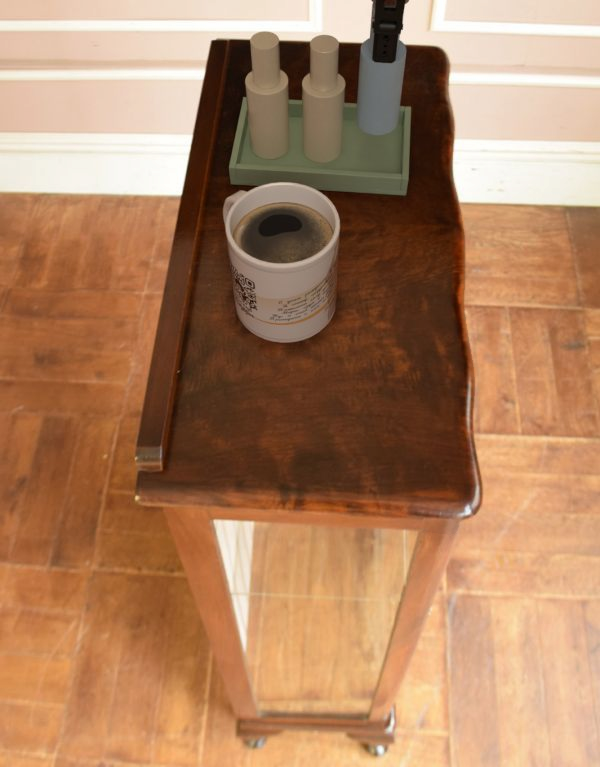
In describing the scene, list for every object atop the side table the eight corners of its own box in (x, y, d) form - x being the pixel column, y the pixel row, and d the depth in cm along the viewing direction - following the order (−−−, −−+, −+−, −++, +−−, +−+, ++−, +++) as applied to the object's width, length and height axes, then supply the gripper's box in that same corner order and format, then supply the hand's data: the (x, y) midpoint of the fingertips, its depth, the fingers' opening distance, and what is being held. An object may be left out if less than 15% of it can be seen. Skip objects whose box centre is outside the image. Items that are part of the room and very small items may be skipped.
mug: (227, 345, 73) (215, 268, 63) (228, 248, 79) (217, 165, 69) (339, 341, 73) (344, 264, 63) (331, 245, 79) (334, 161, 70)
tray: (408, 123, 88) (411, 106, 86) (406, 195, 83) (408, 179, 80) (244, 114, 90) (243, 96, 88) (230, 184, 84) (228, 167, 82)
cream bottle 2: (343, 136, 87) (348, 30, 75) (340, 164, 84) (345, 58, 73) (304, 134, 87) (303, 28, 76) (300, 161, 85) (299, 56, 73)
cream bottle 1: (291, 133, 87) (289, 27, 76) (287, 160, 85) (284, 55, 74) (252, 131, 87) (245, 25, 76) (247, 158, 85) (238, 53, 74)
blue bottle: (398, 108, 83) (412, -8, 71) (397, 136, 80) (411, 20, 69) (357, 106, 83) (364, -11, 72) (354, 134, 80) (362, 18, 69)
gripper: (453, -102, 56) (422, 99, 70) (452, -192, 63) (424, 7, 78) (349, -106, 56) (340, 94, 71) (360, -195, 63) (349, 4, 78)
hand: (384, 48), depth 74 cm, fingers closed on blue bottle, 3 cm apart
